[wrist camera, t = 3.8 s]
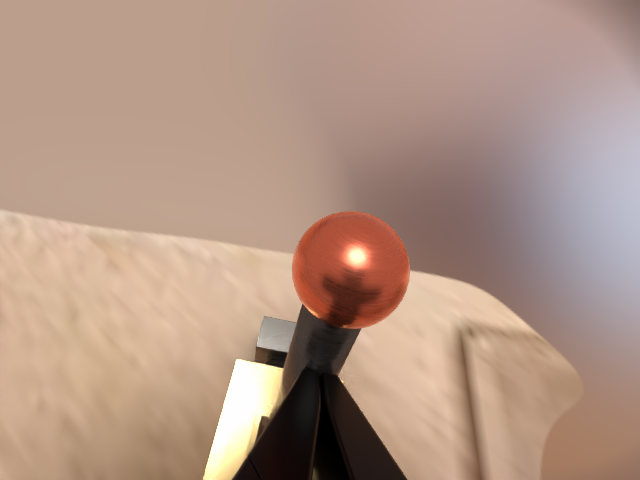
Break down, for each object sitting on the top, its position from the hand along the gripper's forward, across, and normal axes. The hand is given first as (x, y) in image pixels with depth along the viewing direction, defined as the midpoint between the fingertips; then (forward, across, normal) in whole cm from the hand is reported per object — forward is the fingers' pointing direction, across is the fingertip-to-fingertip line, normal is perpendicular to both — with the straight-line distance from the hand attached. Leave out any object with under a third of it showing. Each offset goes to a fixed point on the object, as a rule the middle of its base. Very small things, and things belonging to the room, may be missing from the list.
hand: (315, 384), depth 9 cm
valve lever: (+4, 0, +7) cm, 8 cm away
